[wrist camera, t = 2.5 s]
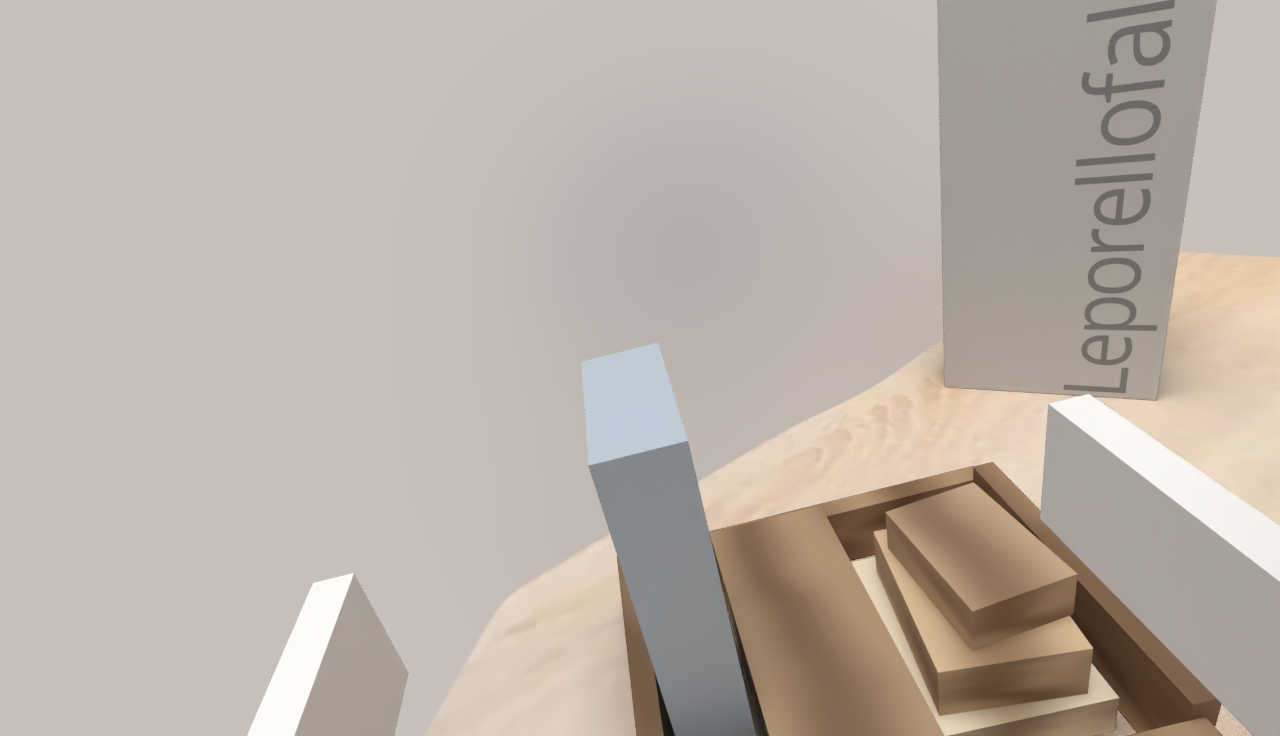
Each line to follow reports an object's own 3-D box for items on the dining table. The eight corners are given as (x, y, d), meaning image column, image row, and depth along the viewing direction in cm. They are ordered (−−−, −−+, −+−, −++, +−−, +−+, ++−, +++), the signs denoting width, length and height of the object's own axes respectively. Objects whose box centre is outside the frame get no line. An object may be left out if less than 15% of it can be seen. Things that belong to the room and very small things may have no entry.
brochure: (943, 387, 57) (936, -17, 43) (952, 354, 61) (948, -26, 47) (1156, 400, 50) (1228, -80, 36) (1150, 361, 54) (1213, -83, 40)
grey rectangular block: (729, 645, 40) (657, 342, 31) (766, 781, 33) (688, 440, 24) (670, 659, 40) (581, 361, 31) (695, 798, 33) (588, 465, 24)
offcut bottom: (985, 568, 41) (986, 531, 40) (1112, 739, 32) (1119, 697, 30) (855, 598, 42) (851, 562, 40) (940, 777, 32) (939, 737, 30)
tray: (981, 513, 44) (981, 450, 42) (1227, 801, 28) (1250, 725, 26) (633, 599, 45) (615, 542, 42) (677, 935, 28) (651, 872, 26)
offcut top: (973, 518, 37) (973, 482, 36) (1073, 614, 31) (1077, 573, 30) (887, 548, 37) (885, 511, 35) (972, 650, 30) (972, 611, 29)
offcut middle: (993, 551, 39) (994, 510, 37) (1087, 693, 31) (1093, 648, 29) (876, 571, 39) (873, 531, 38) (939, 716, 31) (937, 672, 30)
